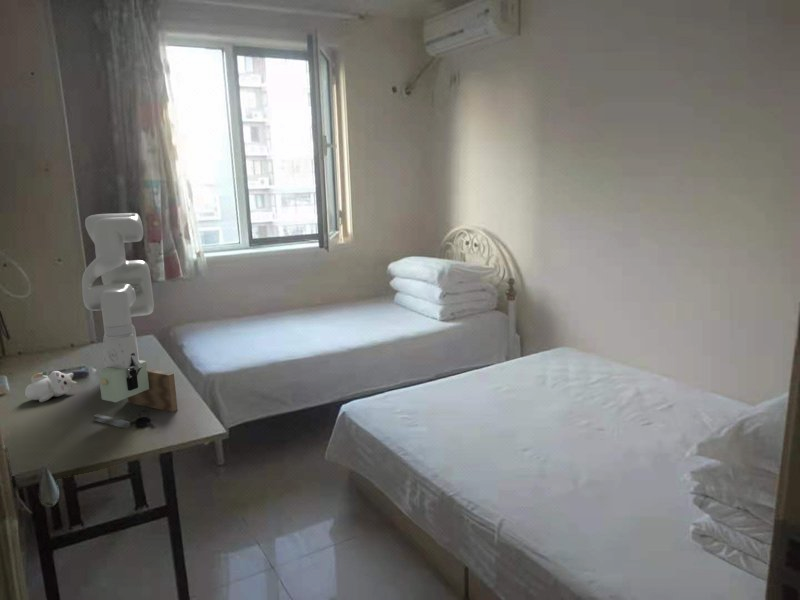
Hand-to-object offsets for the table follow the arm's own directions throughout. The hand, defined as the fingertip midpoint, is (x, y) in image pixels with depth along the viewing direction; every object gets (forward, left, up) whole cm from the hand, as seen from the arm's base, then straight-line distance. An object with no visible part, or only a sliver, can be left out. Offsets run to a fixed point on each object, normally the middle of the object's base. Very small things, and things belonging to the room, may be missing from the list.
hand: (125, 386), depth 176 cm
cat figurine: (-38, +1, -10) cm, 39 cm away
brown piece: (0, +1, -9) cm, 9 cm away
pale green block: (0, 0, -2) cm, 2 cm away
